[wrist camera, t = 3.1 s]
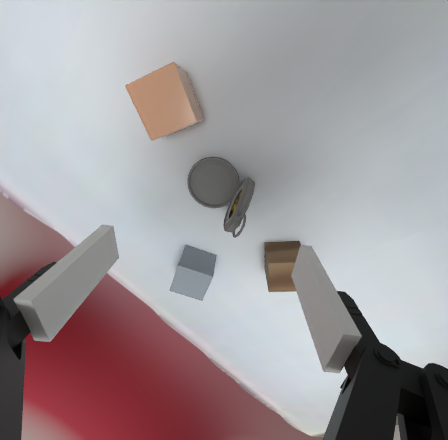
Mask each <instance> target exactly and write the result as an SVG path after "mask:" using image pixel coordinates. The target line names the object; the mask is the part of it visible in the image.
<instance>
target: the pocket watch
mask: <svg viewBox="0 0 448 440" xmlns="http://www.w3.org/2000/svg"><path fill="white" fill-rule="evenodd" d="M254 186H255V182H254V181H253V180H252V179H251V178H249V177H248V178H246V179H244V180H243V181H242V182H241V184H240V185H239V178H238V174H237V172H236V170H235V169H234V167H233V166H232V165H231V164H230V163H228V162H227V161H225V160H223V159H220V158H215V157H210V158H205V159H202V160H200V161H199V162H197V163H196V164H195V165H194V166H193V167H192V169H191V170H190V173H189V175H188V188H189V191H190V194H191V195H192V197H193V198H194V199H195V200H196V201H197V202H198V203H199V204H201V205H203V206H205V207H210V208H220V207H223V206H225V205H227V204H229V203H230V205H229V207H228V210H227V213H226V216H225V220H224V230H225V231H227V232H233V237H237V236H239V235H240V233H241V232H242V230H243V228H244V226H245V222H246V215H245V213H246V211H247V209H248V207H249V204H250V201H251V198H252V195H253V192H254ZM243 217H244V221H243V225H242V227H241V229H240V231H239V232H238V233H237V235H235V229H236V228H237V227H238V226H239V225H240V224H241V221H242V219H243Z"/></svg>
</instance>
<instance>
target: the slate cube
mask: <svg viewBox="0 0 448 440" xmlns="http://www.w3.org/2000/svg"><path fill="white" fill-rule="evenodd" d="M215 261H216V255H215V254H212V253H209V252H206V251H203V250H200V249H197V248H194V247H191V246H188V245H186V246H185V249H184V251H183V254H182V256H181V259H180V261H179V264H178V267H177V270H176V273H175V276H174V279H173V282H172V285H171V288H170V291H172V292H175V293H179V294H182V295H185V296H188V297H192V298H195V299H198V300H201V301H202V300H203V298H204V296H205V293H206V291H207V289H208V287H209V285H210V282H211V280H212V278H213V274H214V267H215Z"/></svg>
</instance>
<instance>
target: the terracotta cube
mask: <svg viewBox="0 0 448 440" xmlns="http://www.w3.org/2000/svg"><path fill="white" fill-rule="evenodd" d="M125 87H126V89H127V91H128V93H129V95H130V97H131V99H132V101H133V104H134V106H135V108H136V110H137V112H138V114H139V116H140V118H141V120H142V122H143V124H144V126H145V128H146V131H147V133H148V135H149V137H150V139H151V141H152V140H155V139H158V138H161V137H164V136H167V135H170V134H172V133H175V132H177V131H179V130H182V129H184V128H187V127H189V126H192V125H194V124H197V123H199V122H201V121H204V118H203V116H202V113H201V110H200V107H199V105H198V102H197V99H196V96H195V94H194V91H193V88H192V86H191V83H190V80H189V77H188V75H187V72H186V71H185V70H184V69H182V68H181V67H180V66H178V65H177V64H176V63H175V62H173V63H171V64H169V65H166V66H164V67H162V68H160V69H158V70H156V71H154V72H152V73H150V74H148V75H146V76H144V77H142V78H140V79H138V80H136V81H134V82H132V83H130V84H127V85H125Z"/></svg>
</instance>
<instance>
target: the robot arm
mask: <svg viewBox="0 0 448 440" xmlns="http://www.w3.org/2000/svg"><path fill="white" fill-rule="evenodd" d="M118 258H119V255H118V250H117V244H116V238H115V232H114V226H110V225H102V226H100V227H99V228H98V229H97V230H96V231H94V232H93V233H92V234H91V235H90V236H88V237H87V238H86V239H85V240H84V241H82V242H81V243H80V244H79V245H78V246H76V247H75V248H74V249H73V250H72V251H70V253H68V254H67V255H66V256H65V257H63V258H62V259H61V260H60V261H58V262H53V263H51V264H49V265H47V266H45V267H43V268H41V269H40V270H39V271H38V272H36V273H35V274H34V276H31V277H30V278H29V279H28V280H27V281H25V282H24V283H23V284H21V285H20V286H19V287H18V288H16V289H15V290H14V291H13V292H11V293H10V294H9V295H8V296H6V297H5V298H4V299H2V298H1V297H0V440H21V431H22V411H23V390H24V370H25V351H26V343H25V340H24V338H25V337H26V336H27V335H28V334H29V333H31V335H32V337H33V339H34V340H37V341H46V342H51V340H52V339H53V338H54V337H55V335H56V334H57V333H58V332H59V330H60V329H61V328H62V327H63V326H64V324H65V323H66V322H67V321H68V319H69V318H70V317H71V316H72V314H73V313H74V312H75V311H76V310H77V308H78V307H79V306H80V304H81V303H82V302H83V301H84V300H85V298H86V297H87V296H88V295H89V293H90V292H91V291H92V290H93V289H94V288H95V286H96V285H97V284H98V283H99V281H100V280H101V279H102V278H103V276H104V275H105V274H106V273H107V272H108V270H109V269H110V268H111V267H112V265H113V264H114V263H115V262H116V261H117V259H118ZM291 276H292V279H293V282H294V285H295V288H296V291H297V294H298V297H299V300H300V303H301V306H302V309H303V312H304V315H305V318H306V321H307V324H308V327H309V330H310V333H311V336H312V339H313V342H314V345H315V348H316V351H317V354H318V357H319V360H320V363H321V366H322V369H323V372H333V373H340V372H341V370H342V368H343V367H345V369H346V372H347V374H348V376H347V377H346V379H345V380H344V382H343V384H342V385H341V387H340V388H342V390H341V392H340V395H339V398H338V400H337V403H336V406H335V408H334V411H333V414H332V416H331V419H330V422H329V424H328V427H327V429H326V432H325V435H324V437H323V440H393V437H394V431H395V424H396V417H398V424H399V431H400V438H401V440H448V369H447V368H445V367H443V366H441V365H438V364H435V363H428V364H427V365H426V366H425V367H424V368H420V367H417V366H415V365H412V364H410V363H407V362H405V361H402V360H401V359H400V358H399V356H398V355H397V354H396V353H395V352H394V351H393V350H391V349H390V348H389V347H387V346H386V345H384V344H381V343H380V342H379V340H378V339H377V337H376V336H375V334H374V332H373V331H372V329H371V328H370V326H369V324H368V323H367V321H366V319H365V318H364V316H362V313H361V311H360V310H359V309H358V307H357V305H356V303H355V302H354V300H353V299H352V298H351V297H350V296H349V295H348V294H347V293H346V292H341V291H336V289H335V287H334V286H333V284H332V282H331V280H330V278H329V277H328V275H327V273H326V271H325V269H324V268H323V266H322V264H321V262H320V261H319V259H318V257H317V255H316V253H315V252H314V250H313V248H312V246H304V245H300V248H299V252H298V255H297V258H296V262H295V265H294V268H293V272H292V275H291Z"/></svg>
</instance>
